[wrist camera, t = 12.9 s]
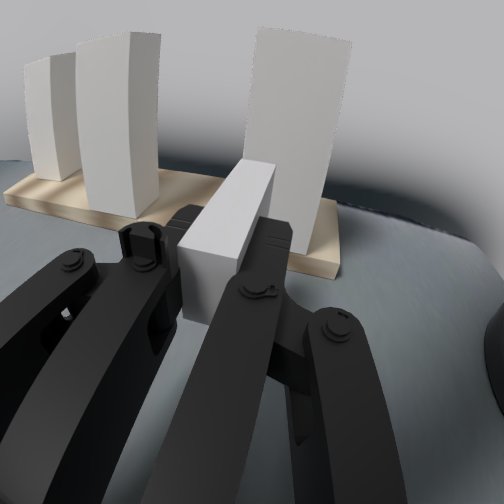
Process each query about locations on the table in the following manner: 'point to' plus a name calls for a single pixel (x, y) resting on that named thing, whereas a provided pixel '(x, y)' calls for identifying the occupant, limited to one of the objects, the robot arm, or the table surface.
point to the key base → (171, 211)
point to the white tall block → (119, 121)
